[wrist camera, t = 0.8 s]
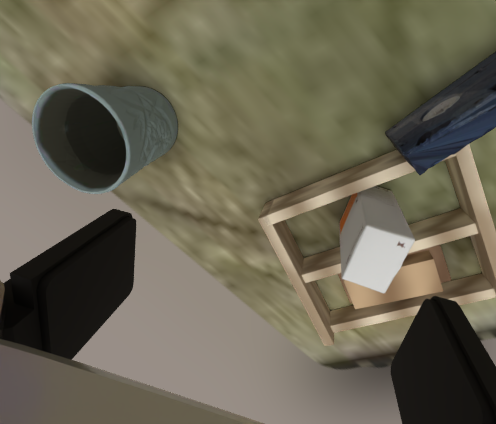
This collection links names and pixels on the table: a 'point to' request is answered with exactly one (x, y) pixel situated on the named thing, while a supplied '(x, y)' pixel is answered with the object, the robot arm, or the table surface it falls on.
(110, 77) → the table surface
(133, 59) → the table surface
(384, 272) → the skincare box
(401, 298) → the upper offcut
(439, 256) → the block
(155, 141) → the teal cylindrical cup
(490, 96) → the vhs cassette tape
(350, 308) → the offcut rack
